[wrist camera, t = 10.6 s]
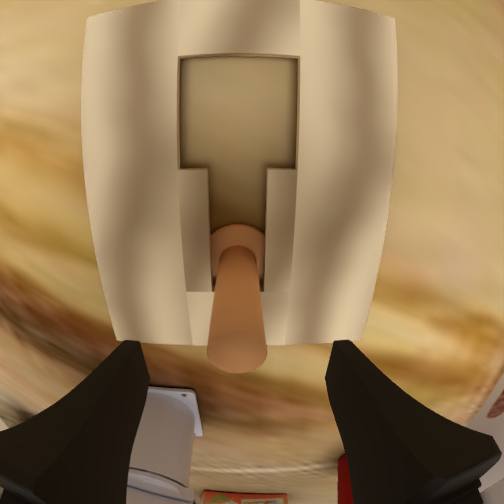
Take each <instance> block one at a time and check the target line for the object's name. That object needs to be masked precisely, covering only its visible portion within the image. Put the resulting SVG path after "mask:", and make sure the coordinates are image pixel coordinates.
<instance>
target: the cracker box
mask: <svg viewBox="0 0 504 504" xmlns="http://www.w3.org/2000/svg"><path fill="white" fill-rule="evenodd" d="M200 502H201V503H202V504H288V501H287V495H286V494H238V493H224V492H214V491H204V492H203V494H202V497H201V499H200Z"/></svg>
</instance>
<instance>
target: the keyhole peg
mask: <svg viewBox="0 0 504 504" xmlns="http://www.w3.org/2000/svg"><path fill="white" fill-rule="evenodd" d="M210 239H211V263H212V282H213V286H215V292H214V299H213V306H212V313H211V321H210V328H209V336H208V344H207V356H208V359H209V360H210V362H211V363H212V364H213V365H214V366H215V367H217V368H218V369H220V370H222V371H225V372H228V373H246V372H250V371H252V370H255V369H256V368H258V367H259V366H260V365H262V363H263V362H264V361H265V359H266V356H267V345H266V337H265V328H264V320H263V311H262V302H261V294H260V286H263V278H264V248H265V234H264V233H263V232H261V231H260V230H258V229H257V228H255V227H252V226H249V225H246V224H230V225H226V226H223V227H221V228H219V229H217V230H216V231H214V232H213V233H212V234H211V235H210Z"/></svg>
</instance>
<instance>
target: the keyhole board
mask: <svg viewBox="0 0 504 504" xmlns="http://www.w3.org/2000/svg"><path fill="white" fill-rule="evenodd" d="M218 56H260V57H281V58H295V59H298V98H297V138H296V165H295V169H291V168H267V178H266V215H265V248H264V278H263V286H260V294H261V302H262V311H263V320H264V328H265V337H266V345H267V346H269V345H297V344H315V343H330V342H334V341H335V340H347V339H349V340H350V341H354V340H362V336H363V333H364V329H365V325H366V321H367V318H368V314H369V310H370V306H371V301H372V297H373V293H374V288H375V284H376V279H377V275H378V270H379V265H380V260H381V255H382V249H383V244H384V238H385V232H386V226H387V219H388V212H389V205H390V198H391V190H392V181H393V171H394V160H395V148H396V132H397V106H398V67H397V43H396V28H395V18H393V17H389V16H386V15H382V14H379V13H375V12H371V11H367V10H363V9H359V8H354V7H349V6H345V5H339V4H334V3H328V2H322V1H315V0H164V1H157V2H151V3H145V4H140V5H135V6H130V7H125V8H121V9H117V10H113V11H109V12H105V13H101V14H97V15H94V16H91V17H87V24H86V32H85V41H84V51H83V65H82V85H81V131H82V152H83V167H84V178H85V188H86V197H87V205H88V212H89V219H90V226H91V232H92V238H93V244H94V249H95V254H96V260H97V264H98V269H99V274H100V278H101V283H102V287H103V291H104V295H105V299H106V303H107V307H108V311H109V315H110V318H111V322H112V325H113V329H114V332H115V336H116V339H117V341H124V340H135V341H140V342H141V343H155V344H174V345H201V346H207V344H208V336H209V328H210V321H211V313H212V306H213V299H214V292H215V286H213V282H212V263H211V239H210V210H209V168H187V169H180V141H179V86H180V59H183V58H197V57H218Z"/></svg>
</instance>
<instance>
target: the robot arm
mask: <svg viewBox="0 0 504 504" xmlns="http://www.w3.org/2000/svg"><path fill="white" fill-rule="evenodd" d="M325 380H326V386H327V392H328V397H329V401H330V405H331V408H332V411H333V414H334V417H335V420H336V423H337V426H338V429H339V433H340V436H341V439H342V442H343V445H344V449H345V453H346V457H347V463H348V469H349V474H350V481H351V489H352V497H353V504H504V478H503V479H501V480H500V481H498V482H497V483H495V484H494V485H492V486H490V487H489V488H487V489H486V490H484V491H483V492H481V493H479V490H478V488H479V487H480V486H481V482H480V480H479V478H480V477H481V476H482V475H484V474H485V473H486V472H487V471H488V470H489V469H490V468H492V467H493V466H494V465H495V464H496V463H497V462H498V460H499V459H500V457H501V455H502V453H501V451H500V449H499V447H498V445H497V444H496V442H495V440H494V438H493V437H492V436H490V435H487V434H484V433H480V432H477V431H474V430H471V429H469V428H466V427H464V426H461V425H459V424H457V423H455V422H452V421H450V420H448V419H446V418H444V417H443V416H441V415H439V414H437V413H435V412H434V411H432V410H430V409H429V408H427V407H425V406H424V405H422V404H421V403H420V402H418V401H417V400H415V399H414V398H412V397H411V396H410V395H408V394H407V393H406V392H404V391H403V390H402V389H401V388H400V387H398V386H397V385H396V384H395V383H394V382H392V381H391V380H390V379H389V378H388V377H387V376H386V375H385V374H383V373H382V372H381V371H380V370H379V369H378V368H377V367H376V366H375V365H374V364H373V363H372V362H371V361H370V360H369V359H368V358H367V357H366V356H365V355H364V354H363V353H362V352H361V351H360V350H359V349H358V348H357V347H356V346H355V345H354V344H353V343H352V342H351V341H350V340H349V339H347V340H335V341H334V342H333V347H332V351H331V355H330V360H329V364H328V368H327V372H326V376H325ZM149 381H150V376H149V373H148V370H147V366H146V363H145V359H144V356H143V352H142V348H141V345H140V341H135V340H124V341H123V342H122V343H121V344H120V345H119V346H118V347H117V348H116V349H115V350H114V351H113V352H112V353H111V354H110V355H109V356H108V357H107V358H106V359H105V360H104V361H103V362H102V363H101V364H100V365H99V366H98V367H97V368H96V369H95V370H94V371H93V372H92V373H91V374H90V375H89V376H88V377H86V378H85V379H84V380H83V381H82V382H81V383H80V384H79V385H77V386H76V387H75V388H74V389H73V390H72V391H70V392H69V393H68V394H67V395H65V396H64V397H63V398H61V399H60V400H59V401H57V402H56V403H55V404H53V405H52V406H50V407H49V408H47V409H45V410H44V411H42V412H40V413H39V414H37V415H35V416H34V417H32V418H30V419H28V420H26V421H24V422H22V423H20V424H18V425H16V426H13V427H11V428H9V429H6V430H3V431H0V486H1V487H2V488H3V492H2V493H0V504H202V503H201V502H200V501H199V500H196V499H194V490H192V489H188V488H189V477H190V467H191V457H192V447H193V438H194V436H202V435H203V429H202V424H201V419H200V414H199V409H198V404H197V399H196V394H195V392H194V391H193V390H190V389H175V388H161V387H150V386H149Z"/></svg>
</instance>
